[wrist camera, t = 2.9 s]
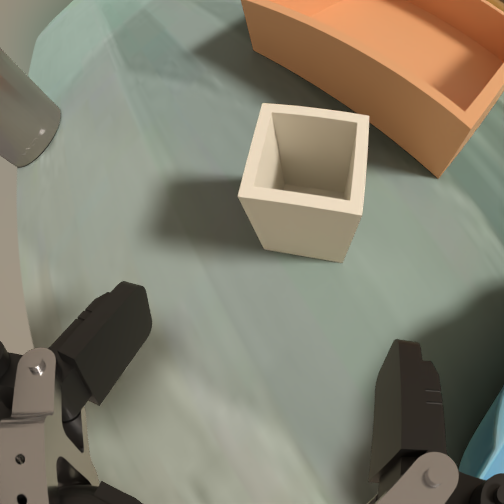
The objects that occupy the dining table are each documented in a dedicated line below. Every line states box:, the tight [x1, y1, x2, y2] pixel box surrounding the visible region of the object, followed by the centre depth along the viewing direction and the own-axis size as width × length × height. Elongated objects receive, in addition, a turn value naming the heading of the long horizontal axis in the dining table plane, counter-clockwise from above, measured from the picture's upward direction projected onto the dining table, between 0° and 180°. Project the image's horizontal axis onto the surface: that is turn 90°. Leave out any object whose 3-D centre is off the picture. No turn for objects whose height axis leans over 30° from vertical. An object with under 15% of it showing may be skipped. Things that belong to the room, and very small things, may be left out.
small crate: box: [238, 103, 369, 263], centre depth 19 cm, size 6×6×9 cm
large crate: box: [241, 0, 504, 178], centre depth 23 cm, size 22×22×7 cm
